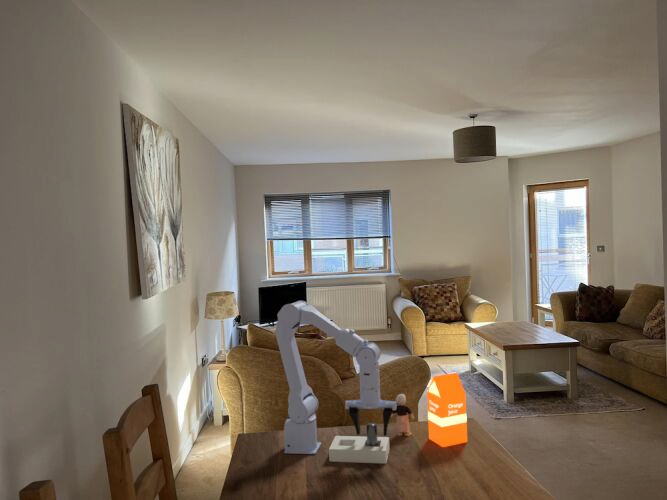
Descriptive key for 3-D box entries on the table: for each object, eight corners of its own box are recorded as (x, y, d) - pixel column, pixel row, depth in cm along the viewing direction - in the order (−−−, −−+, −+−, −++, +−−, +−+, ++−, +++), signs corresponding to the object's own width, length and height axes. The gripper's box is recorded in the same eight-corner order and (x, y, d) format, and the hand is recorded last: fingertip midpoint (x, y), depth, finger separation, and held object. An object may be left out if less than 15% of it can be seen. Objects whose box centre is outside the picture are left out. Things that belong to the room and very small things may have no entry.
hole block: (329, 461, 148) (328, 449, 148) (336, 447, 158) (335, 435, 157) (386, 463, 145) (385, 450, 145) (389, 449, 154) (389, 437, 154)
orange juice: (428, 438, 161) (425, 373, 161) (453, 433, 164) (450, 369, 164) (442, 447, 154) (439, 379, 153) (468, 442, 157) (465, 375, 156)
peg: (366, 457, 149) (365, 426, 149) (369, 453, 152) (367, 422, 152) (377, 458, 148) (375, 426, 148) (379, 454, 151) (377, 423, 151)
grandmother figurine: (414, 431, 167) (412, 392, 167) (415, 436, 163) (413, 395, 163) (390, 432, 168) (388, 392, 168) (390, 436, 164) (388, 396, 164)
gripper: (342, 390, 147) (344, 438, 148) (394, 391, 145) (396, 440, 145) (346, 383, 154) (348, 429, 155) (396, 383, 152) (398, 430, 152)
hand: (371, 433), depth 150 cm, fingers open, 7 cm apart
